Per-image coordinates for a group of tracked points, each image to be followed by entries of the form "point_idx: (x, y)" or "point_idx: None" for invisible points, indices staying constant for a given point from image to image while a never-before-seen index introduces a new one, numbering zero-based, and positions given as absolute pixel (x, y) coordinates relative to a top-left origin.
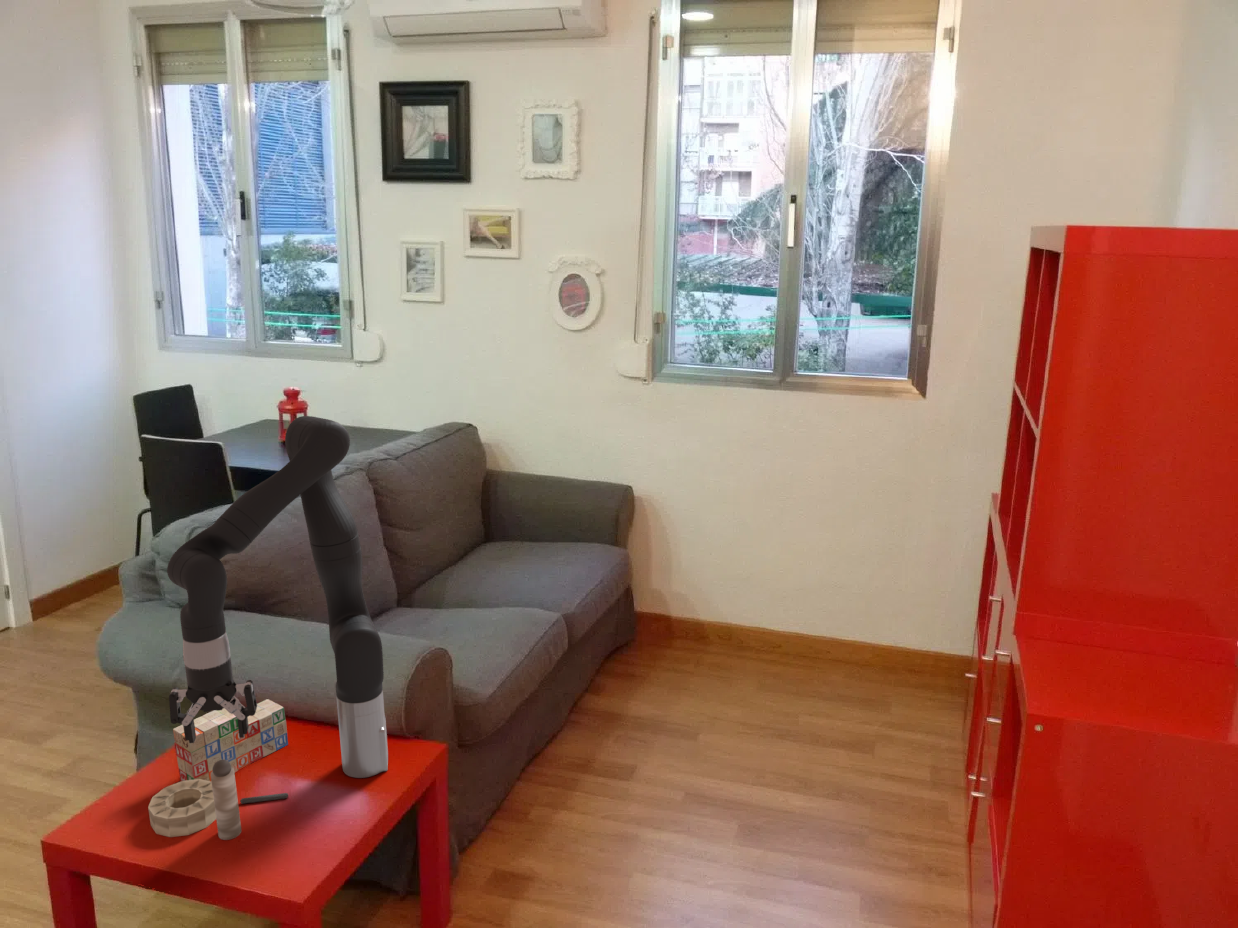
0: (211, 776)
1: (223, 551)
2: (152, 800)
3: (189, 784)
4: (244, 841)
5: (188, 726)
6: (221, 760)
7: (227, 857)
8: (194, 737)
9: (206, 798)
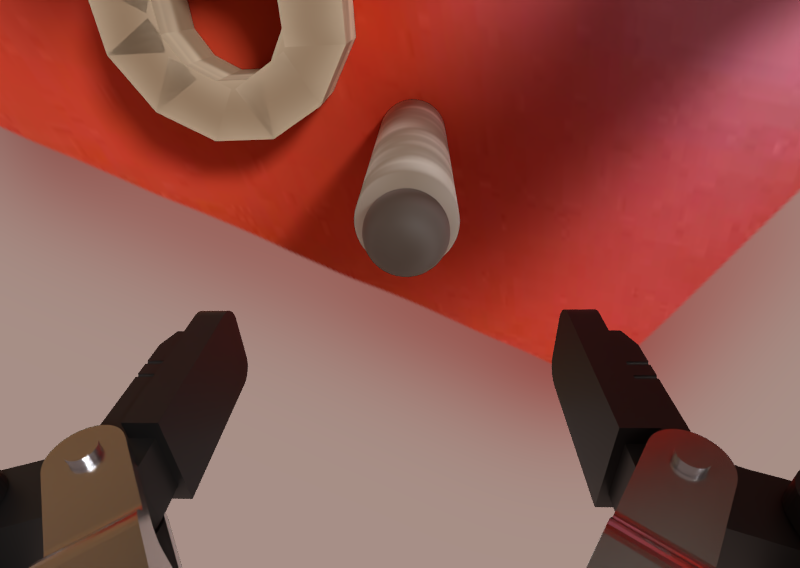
0: (363, 244)
1: None
2: (96, 5)
3: None
4: (461, 181)
5: (174, 493)
6: (406, 249)
7: None
8: (232, 351)
9: (307, 33)
